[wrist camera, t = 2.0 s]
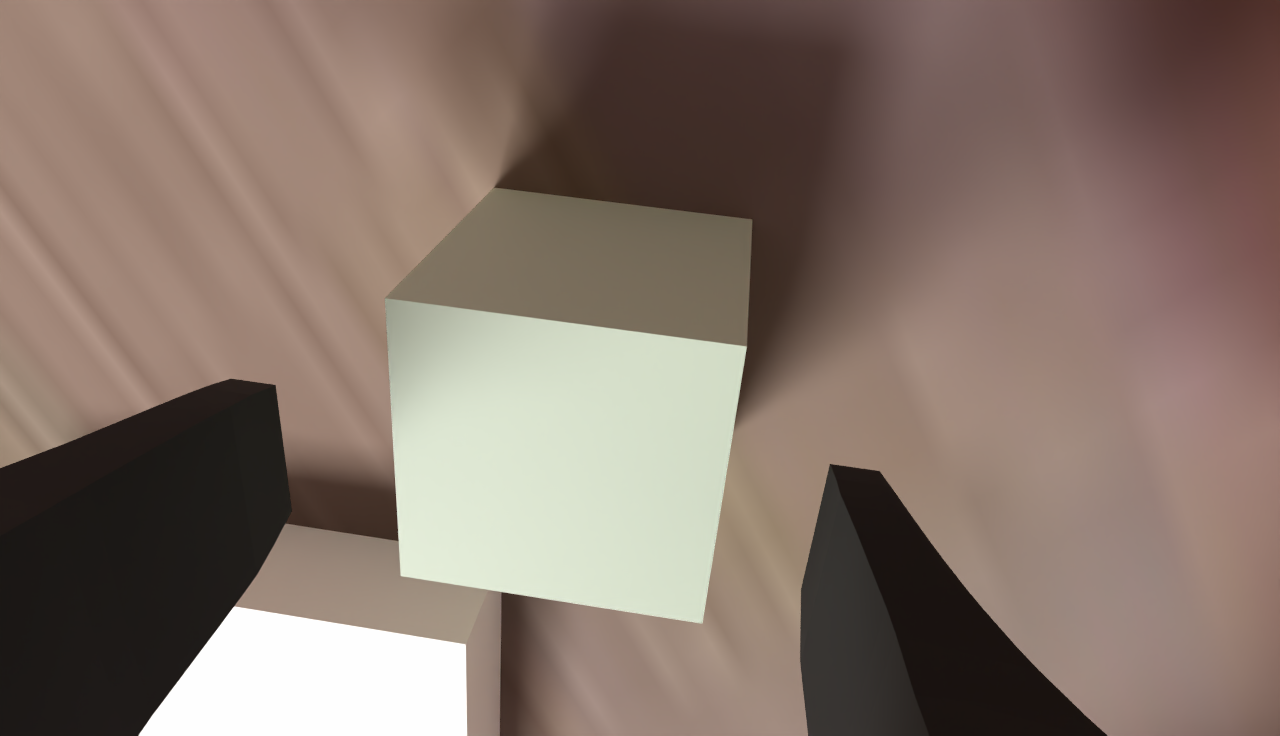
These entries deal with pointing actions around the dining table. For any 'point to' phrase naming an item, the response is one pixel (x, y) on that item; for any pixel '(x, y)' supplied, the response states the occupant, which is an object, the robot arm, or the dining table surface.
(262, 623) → the base block
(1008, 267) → the dining table surface
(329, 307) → the dining table surface
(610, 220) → the sage block
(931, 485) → the dining table surface
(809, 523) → the dining table surface
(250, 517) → the robot arm
